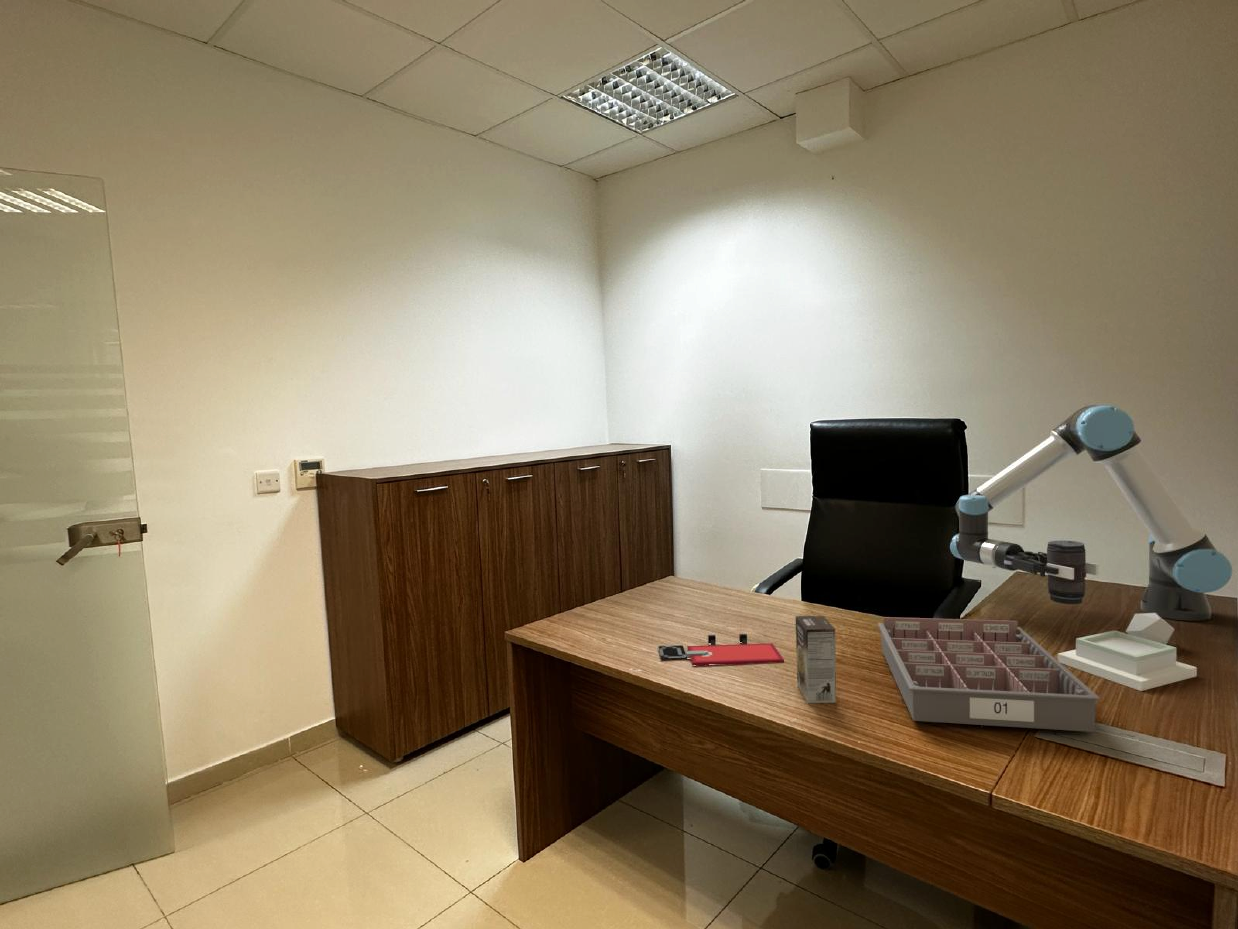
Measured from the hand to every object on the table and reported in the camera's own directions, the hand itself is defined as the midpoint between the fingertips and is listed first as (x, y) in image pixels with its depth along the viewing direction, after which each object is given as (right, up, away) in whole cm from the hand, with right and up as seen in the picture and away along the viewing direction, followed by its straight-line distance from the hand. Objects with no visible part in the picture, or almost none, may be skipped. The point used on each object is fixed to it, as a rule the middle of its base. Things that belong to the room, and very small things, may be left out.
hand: (1085, 571), depth 161 cm
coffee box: (-72, -24, -19) cm, 78 cm away
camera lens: (-1, -8, +5) cm, 10 cm away
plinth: (0, -20, -13) cm, 24 cm away
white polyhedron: (+16, -18, 0) cm, 24 cm away
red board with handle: (-90, -23, +7) cm, 93 cm away
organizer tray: (-39, -22, -20) cm, 49 cm away
